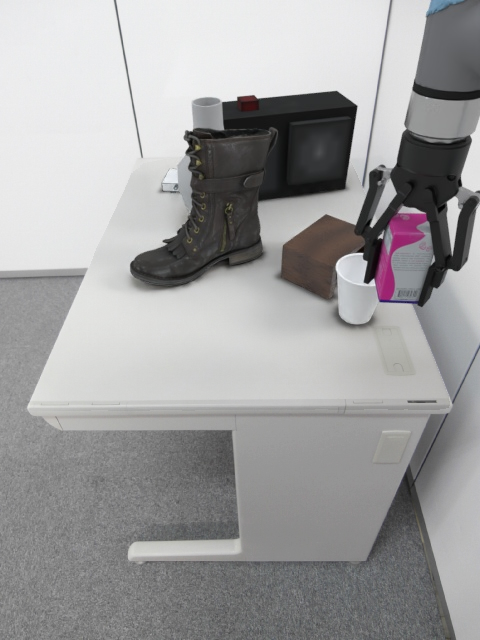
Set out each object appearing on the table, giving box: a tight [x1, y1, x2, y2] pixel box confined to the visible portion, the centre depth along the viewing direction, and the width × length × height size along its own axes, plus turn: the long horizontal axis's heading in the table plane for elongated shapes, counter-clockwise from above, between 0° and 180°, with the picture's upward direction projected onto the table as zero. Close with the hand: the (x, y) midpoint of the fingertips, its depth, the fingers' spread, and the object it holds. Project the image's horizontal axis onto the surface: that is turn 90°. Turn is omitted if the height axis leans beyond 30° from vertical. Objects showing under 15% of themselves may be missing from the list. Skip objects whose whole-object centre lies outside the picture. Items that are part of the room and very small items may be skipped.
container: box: [161, 168, 180, 194], centre depth 127 cm, size 20×11×3 cm, turn 173°
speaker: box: [222, 90, 359, 202], centre depth 116 cm, size 15×35×24 cm, turn 104°
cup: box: [336, 253, 380, 325], centre depth 81 cm, size 10×10×11 cm
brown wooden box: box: [280, 213, 365, 300], centre depth 93 cm, size 12×16×8 cm
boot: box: [129, 127, 278, 287], centre depth 89 cm, size 12×33×29 cm, turn 117°
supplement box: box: [374, 212, 434, 305], centre depth 61 cm, size 6×6×12 cm
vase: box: [176, 96, 224, 212], centre depth 103 cm, size 17×16×28 cm
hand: (396, 289), depth 65 cm, fingers closed on supplement box, 8 cm apart
